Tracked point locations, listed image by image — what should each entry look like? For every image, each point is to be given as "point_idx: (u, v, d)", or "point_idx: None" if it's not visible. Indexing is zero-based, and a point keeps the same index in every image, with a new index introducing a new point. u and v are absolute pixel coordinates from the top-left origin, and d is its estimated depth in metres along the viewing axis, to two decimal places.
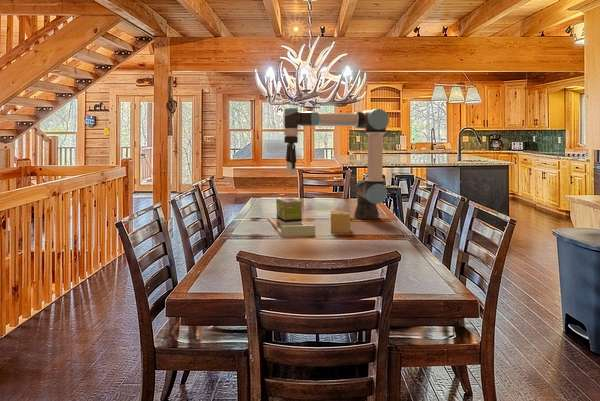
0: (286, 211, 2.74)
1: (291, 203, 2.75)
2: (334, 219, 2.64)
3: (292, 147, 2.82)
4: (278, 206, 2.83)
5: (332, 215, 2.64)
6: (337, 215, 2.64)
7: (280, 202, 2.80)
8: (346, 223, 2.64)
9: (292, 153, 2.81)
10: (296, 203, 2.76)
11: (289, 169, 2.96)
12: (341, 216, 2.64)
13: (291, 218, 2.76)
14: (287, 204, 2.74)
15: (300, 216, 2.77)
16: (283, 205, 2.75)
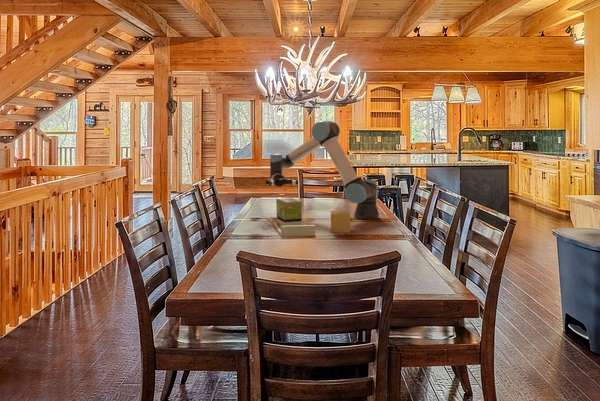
0: (286, 211, 2.74)
1: (291, 203, 2.75)
2: (334, 219, 2.64)
3: None
4: (278, 206, 2.83)
5: (332, 215, 2.64)
6: (337, 215, 2.64)
7: (280, 202, 2.80)
8: (346, 223, 2.64)
9: None
10: (296, 203, 2.76)
11: (293, 182, 3.01)
12: (341, 216, 2.64)
13: (291, 218, 2.76)
14: (287, 204, 2.74)
15: (300, 216, 2.77)
16: (283, 205, 2.75)
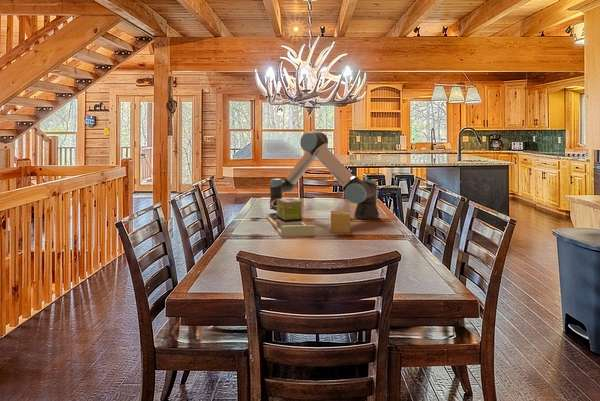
0: (286, 211, 2.74)
1: (291, 203, 2.75)
2: (334, 219, 2.64)
3: (271, 207, 3.11)
4: (278, 206, 2.83)
5: (332, 215, 2.64)
6: (337, 215, 2.64)
7: (280, 202, 2.80)
8: (346, 223, 2.64)
9: (273, 209, 3.08)
10: (296, 203, 2.76)
11: None
12: (341, 216, 2.64)
13: (291, 218, 2.76)
14: (287, 204, 2.74)
15: (300, 216, 2.77)
16: (283, 205, 2.75)
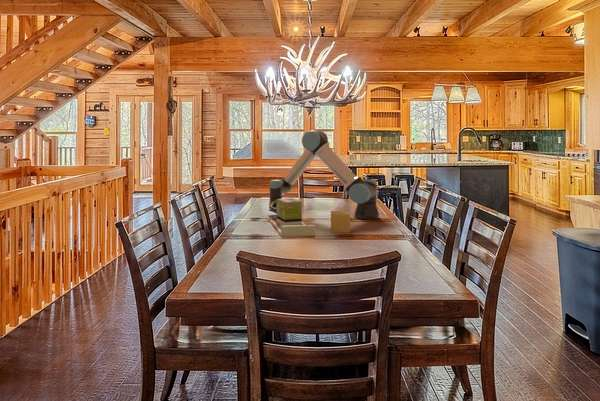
0: (286, 211, 2.74)
1: (291, 203, 2.74)
2: (334, 219, 2.64)
3: (270, 209, 3.04)
4: (278, 206, 2.83)
5: (332, 215, 2.64)
6: (337, 215, 2.64)
7: (280, 202, 2.80)
8: (346, 223, 2.64)
9: (272, 211, 3.00)
10: (296, 203, 2.75)
11: None
12: (341, 216, 2.64)
13: (291, 217, 2.75)
14: (287, 204, 2.74)
15: (300, 216, 2.77)
16: (283, 205, 2.75)
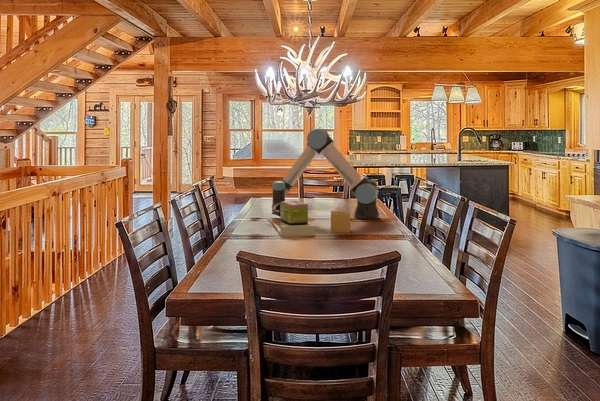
0: (292, 214, 2.62)
1: (297, 206, 2.63)
2: (334, 219, 2.64)
3: (273, 212, 2.92)
4: (282, 209, 2.71)
5: (332, 215, 2.64)
6: (337, 215, 2.64)
7: (285, 205, 2.68)
8: (346, 223, 2.64)
9: (275, 214, 2.89)
10: (302, 206, 2.64)
11: None
12: (341, 216, 2.64)
13: (298, 221, 2.64)
14: (293, 207, 2.62)
15: (306, 219, 2.66)
16: (289, 208, 2.63)
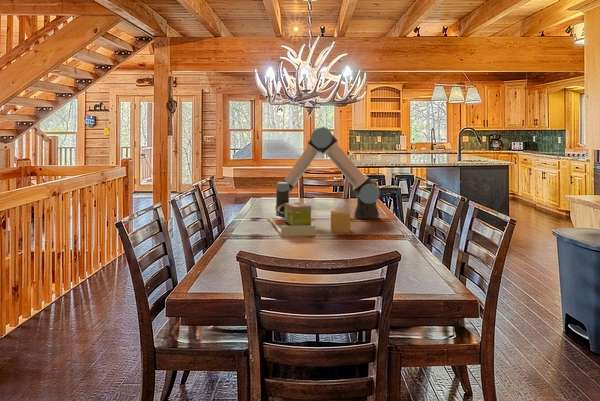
0: (294, 216, 2.56)
1: (299, 208, 2.56)
2: (334, 219, 2.64)
3: (277, 214, 2.85)
4: (286, 211, 2.65)
5: (332, 215, 2.64)
6: (337, 215, 2.64)
7: (288, 207, 2.62)
8: (346, 223, 2.64)
9: (280, 215, 2.82)
10: (305, 208, 2.57)
11: None
12: (341, 216, 2.64)
13: (300, 223, 2.57)
14: (295, 209, 2.55)
15: (309, 221, 2.59)
16: (291, 210, 2.57)
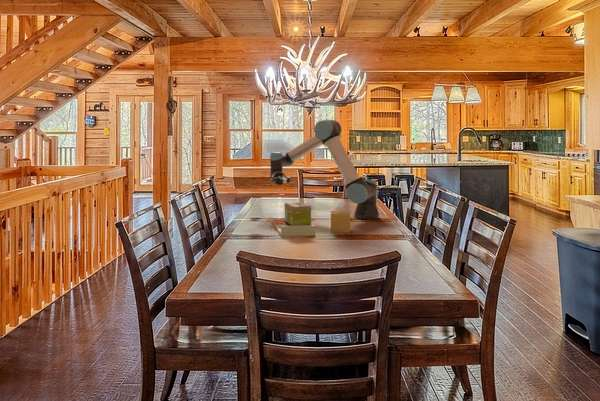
0: (294, 216, 2.56)
1: (299, 208, 2.56)
2: (334, 219, 2.64)
3: (271, 180, 3.06)
4: (286, 211, 2.65)
5: (332, 215, 2.64)
6: (337, 215, 2.64)
7: (288, 207, 2.62)
8: (346, 223, 2.64)
9: (274, 180, 3.03)
10: (305, 208, 2.57)
11: None
12: (341, 216, 2.64)
13: (300, 223, 2.57)
14: (295, 209, 2.55)
15: (309, 221, 2.59)
16: (291, 210, 2.57)
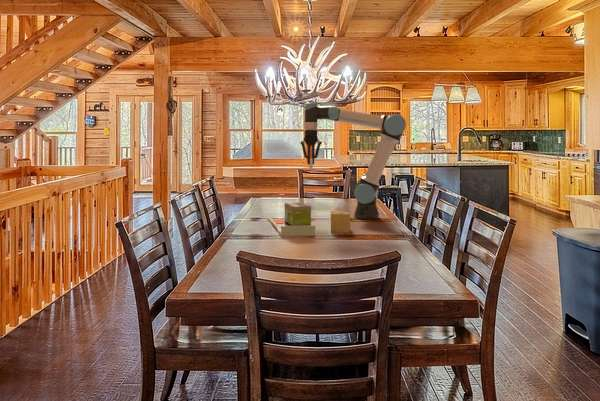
0: (294, 216, 2.56)
1: (299, 208, 2.56)
2: (334, 219, 2.64)
3: (301, 144, 3.03)
4: (286, 211, 2.65)
5: (332, 215, 2.64)
6: (337, 215, 2.64)
7: (288, 207, 2.62)
8: (346, 223, 2.64)
9: (303, 150, 3.04)
10: (305, 208, 2.57)
11: None
12: (341, 216, 2.64)
13: (300, 223, 2.57)
14: (295, 209, 2.55)
15: (309, 221, 2.59)
16: (291, 210, 2.57)
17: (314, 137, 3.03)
